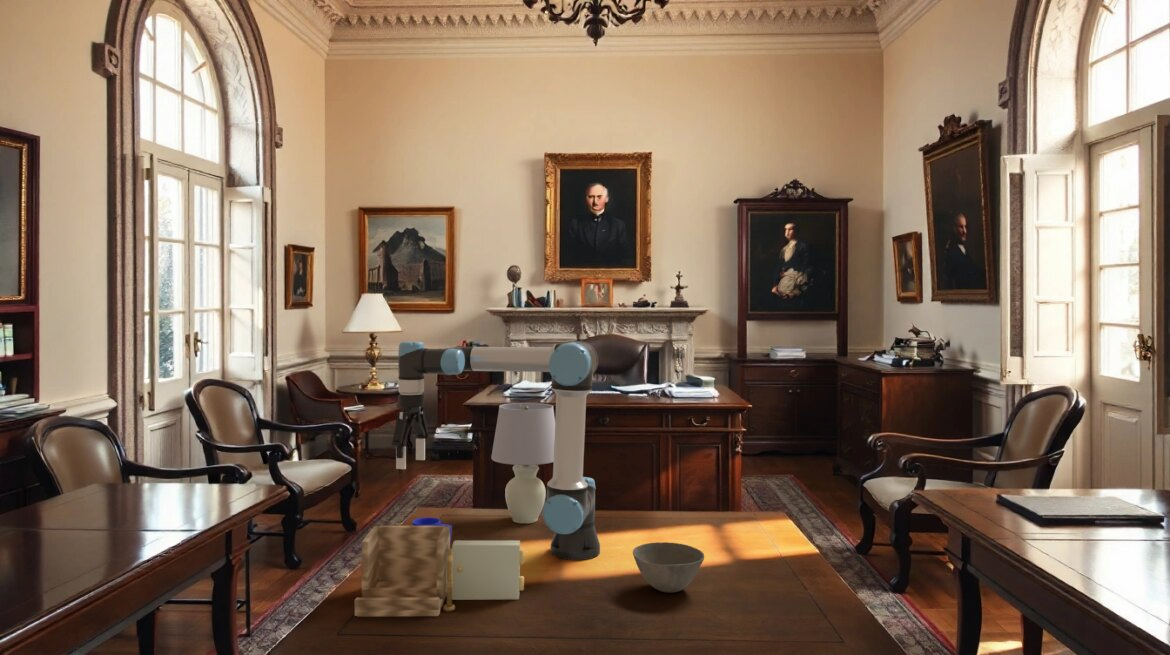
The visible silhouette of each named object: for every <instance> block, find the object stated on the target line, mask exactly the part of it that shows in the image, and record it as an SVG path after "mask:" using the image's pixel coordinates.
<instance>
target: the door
mask: <svg viewBox="0 0 1170 655" xmlns="http://www.w3.org/2000/svg"><path fill="white" fill-rule="evenodd" d="M451 546H452V601H453V600H454V601H455V600H456V601H457V600H461V601H462V600H463V601H464V600H469V601H470V600H471V601H472V600H479V601H481V600H482V601H483V600H484V601H485V600H519V599H520V591H524V590H525V576H523V575H521V574H520V573H521V571H520V570H521V569H520V568H521V565H520V564H524V563H525V549H524V548H523V549H521V540H454V541H453V543H452V545H451Z"/></svg>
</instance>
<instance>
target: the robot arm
mask: <svg viewBox="0 0 1170 655" xmlns="http://www.w3.org/2000/svg"><path fill="white" fill-rule="evenodd" d="M397 354H398V356H397V360H398V361H397V363H398V365H397V366H398V367H397V369H398V377H397V378H398V381H397V385H398V387H397V388H398V389H397V390H398V393H399V394H398V396H397V406H398V407H400V408H402V411H398V412H397V413H396V414H397V415H396V424H395V426H394V427H395V428H394V433H393V437H392V443H391V444H392V447H393V448H394V447H395V469H396V470H406V469H407V446H405V444H406V442H407V439H408V436H409V432H410V430H411V428H413V429H414V431H415V432H414V433H415V434H416V438H415V461H425V460H426V439H429V428H428V424H427V420H426V415H425V407H424V405H425V394H424V393H423V392H425V375H429V374H430V375H447V376H452V375H460V374H462V372H523V373H524V372H525V373H527V372H530V373H531V372H533V373H549V374H550V375H551V390H552V391H553V392H554V394H555V395H556V400H555V441H554V462H553V466H552V477H551V479H549V481H547V485H546V486H547V487H546V500H545V502H544V505H543V508H542V520H543V522H544V524H545V525H546V526H547V528H549V530H551V531H552V532H553V536H552V539H551V543H550V551H549V552H550V554H551V555H552V556H554V557H556V558H558V559H559V558H560V559H562V560H563V559H565V560H573V561H574V560H575V561H576V560H577V561H578V560H587V559H589V560H590V559H592V558H594V557H595V558H596V557H598V556H599V555H600V553H601V544H600V540H599V537H598V533H597V530H596V528H595V524H596V522H595V520H596V516H595V515H596V489H597V488H596V482H595V479H594V478H592V477H587V476H584V457H585V455H584V454H585V438H586V437H585V436H586V433H585V432H586V413H587V412H586V411H587V410H586V409H587V396H588V395H589V394H591V392H592V391H593V375H594V373H595V372H596V371H597V369H598V366H599V356H598V353H597V351H596V349H595V347H593V346H592V345H591V344H590V343H589V342H586V341H582V340H577V341H571V342H569V341H568V342H565V343H555V344H554V345H552V346H465V345H457V346H455V347H454V346H453V347H447V348H445V347H444V348H426V346H425V343H424V342H423V341H415V340H413V341H401V342H400V343H399V344H398V353H397Z"/></svg>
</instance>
